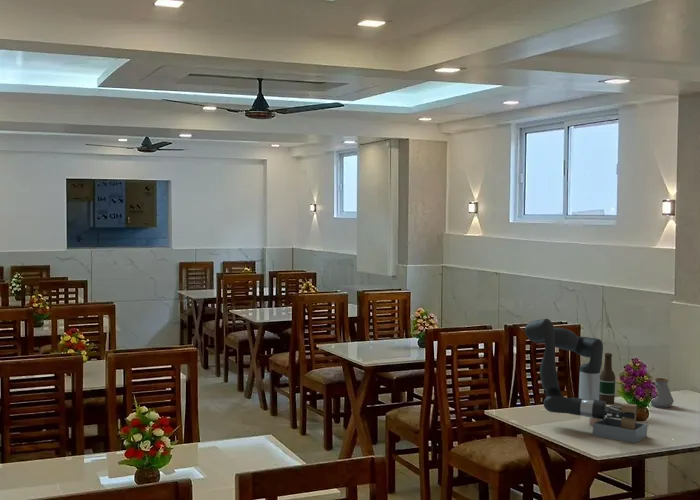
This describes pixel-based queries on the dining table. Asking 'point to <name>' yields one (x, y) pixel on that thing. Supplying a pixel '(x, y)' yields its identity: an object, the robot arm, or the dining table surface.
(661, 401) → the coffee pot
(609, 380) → the beer bottle
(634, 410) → the walnut block
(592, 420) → the terracotta cylinder
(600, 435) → the blue-gray tote
